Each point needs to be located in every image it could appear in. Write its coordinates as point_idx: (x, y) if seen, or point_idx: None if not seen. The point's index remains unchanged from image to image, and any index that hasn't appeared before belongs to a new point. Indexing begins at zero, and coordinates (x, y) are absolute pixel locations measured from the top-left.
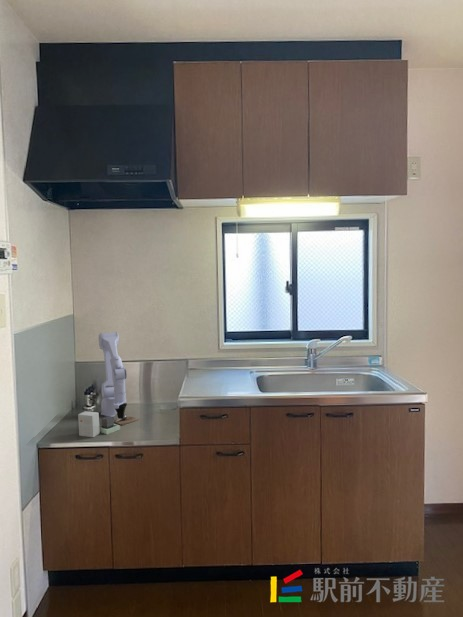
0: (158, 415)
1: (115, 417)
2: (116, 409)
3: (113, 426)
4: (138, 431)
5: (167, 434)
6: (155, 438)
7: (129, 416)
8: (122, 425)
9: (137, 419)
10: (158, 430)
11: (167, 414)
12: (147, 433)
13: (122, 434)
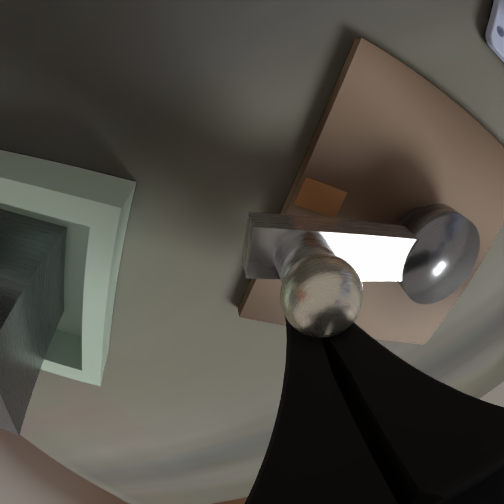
0: (477, 371)
1: (285, 266)
2: (263, 479)
3: (50, 335)
4: (159, 442)
5: (190, 498)
6: (124, 488)
7: (494, 238)
8: (239, 309)
9: (414, 342)
10: (223, 479)
11: (478, 390)
12: (157, 469)
13: (50, 395)
